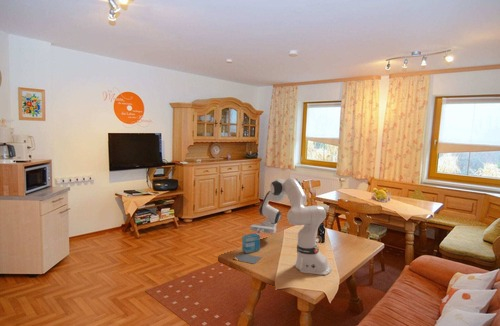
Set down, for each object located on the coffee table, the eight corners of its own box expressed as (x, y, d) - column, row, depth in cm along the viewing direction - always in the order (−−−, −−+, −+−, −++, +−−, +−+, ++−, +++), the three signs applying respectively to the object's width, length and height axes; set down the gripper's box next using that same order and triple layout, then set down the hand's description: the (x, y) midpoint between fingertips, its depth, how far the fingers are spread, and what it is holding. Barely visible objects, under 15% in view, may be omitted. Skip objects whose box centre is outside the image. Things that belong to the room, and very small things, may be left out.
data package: (245, 253, 216) (244, 237, 215) (242, 251, 220) (242, 235, 219) (260, 250, 222) (259, 234, 220) (257, 248, 226) (256, 232, 224)
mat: (261, 257, 210) (261, 257, 210) (254, 264, 200) (254, 263, 200) (239, 253, 217) (239, 252, 217) (232, 259, 208) (232, 259, 208)
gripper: (254, 220, 248) (246, 225, 236) (278, 224, 239) (271, 229, 227) (254, 228, 249) (246, 233, 237) (278, 232, 240) (271, 237, 227)
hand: (258, 231), depth 231 cm, fingers closed
